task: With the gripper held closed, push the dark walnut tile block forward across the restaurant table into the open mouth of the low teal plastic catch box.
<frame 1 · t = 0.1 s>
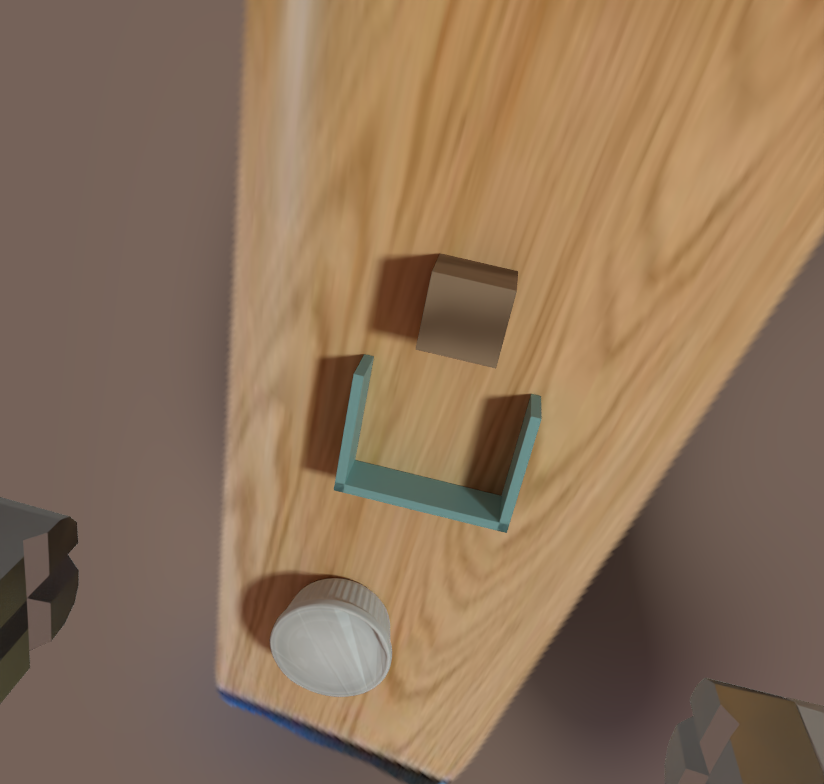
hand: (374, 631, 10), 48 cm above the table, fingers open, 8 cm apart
walnut tile block: (470, 299, 58), on the table
catch box: (438, 432, 63), on the table
ramekin: (343, 612, 73), on the table
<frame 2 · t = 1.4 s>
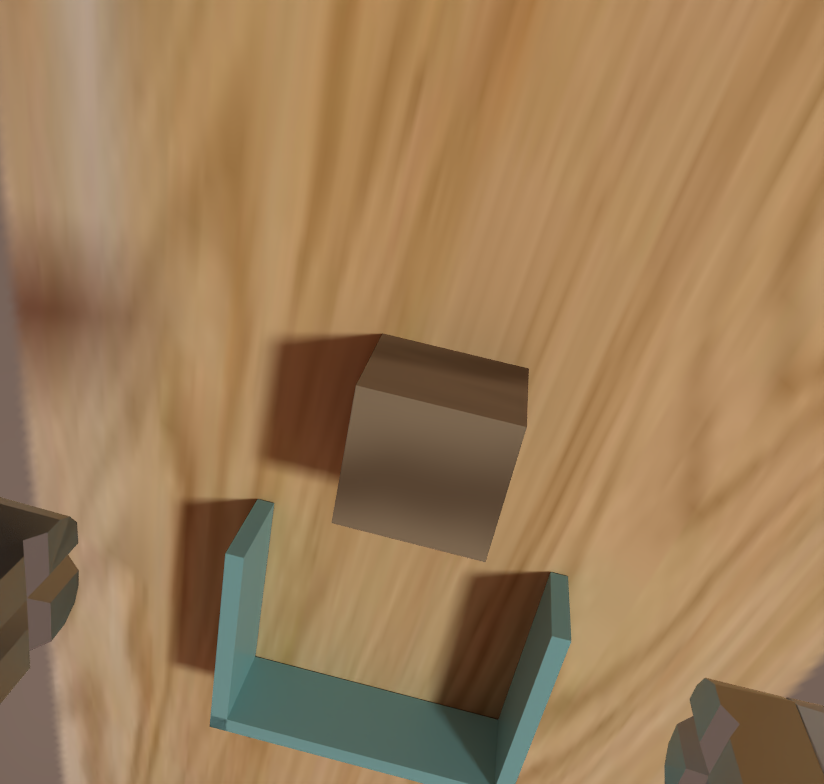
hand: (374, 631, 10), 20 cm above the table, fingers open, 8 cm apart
walnut tile block: (440, 413, 31), on the table
catch box: (390, 623, 37), on the table
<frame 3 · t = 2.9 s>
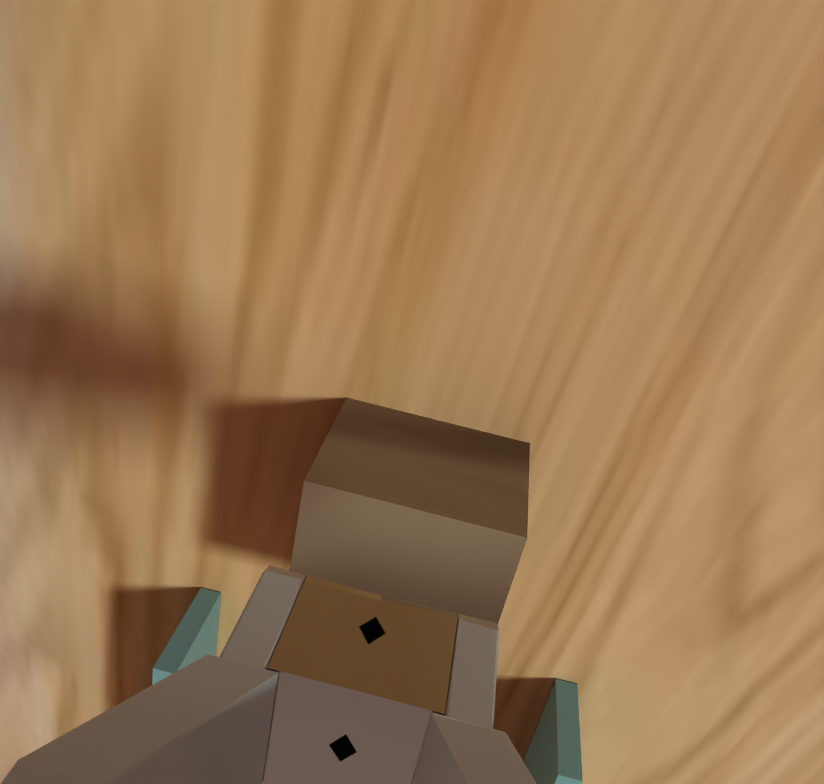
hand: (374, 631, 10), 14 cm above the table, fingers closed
walnut tile block: (419, 493, 25), on the table
catch box: (364, 729, 31), on the table
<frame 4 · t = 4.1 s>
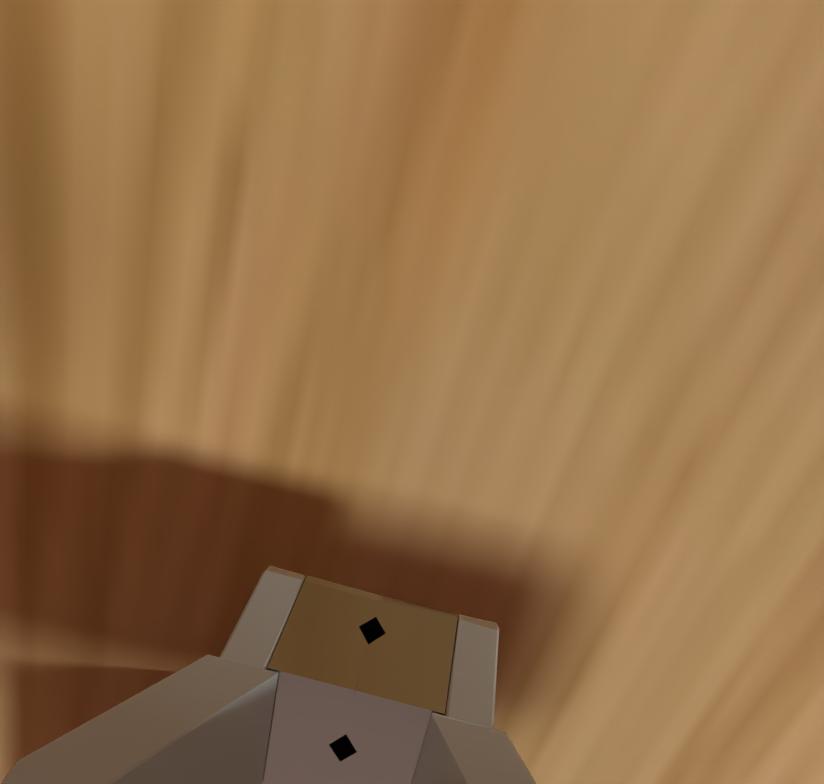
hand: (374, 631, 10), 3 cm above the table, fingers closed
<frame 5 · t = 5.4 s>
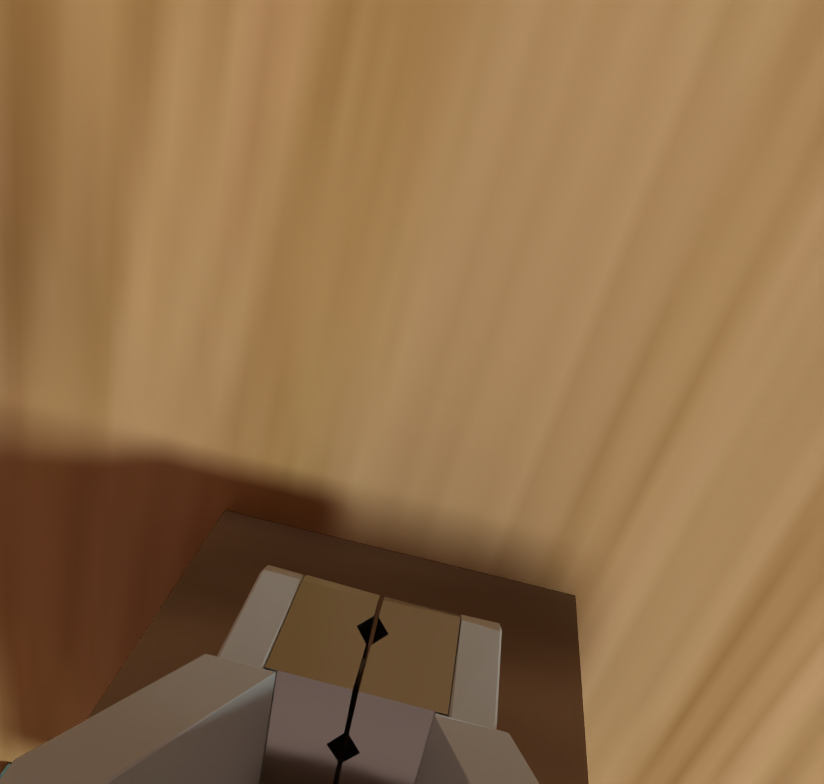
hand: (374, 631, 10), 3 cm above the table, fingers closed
walnut tile block: (370, 680, 14), on the table, touching gripper
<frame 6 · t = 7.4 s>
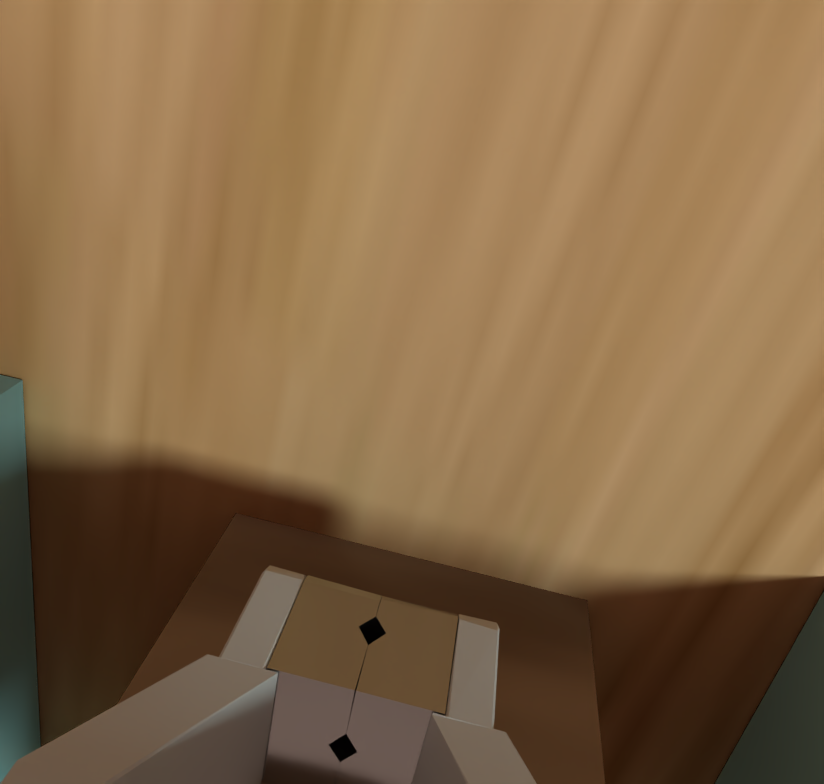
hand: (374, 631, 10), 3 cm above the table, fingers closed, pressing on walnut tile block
walnut tile block: (380, 679, 14), on the table, touching gripper
catch box: (361, 713, 14), on the table
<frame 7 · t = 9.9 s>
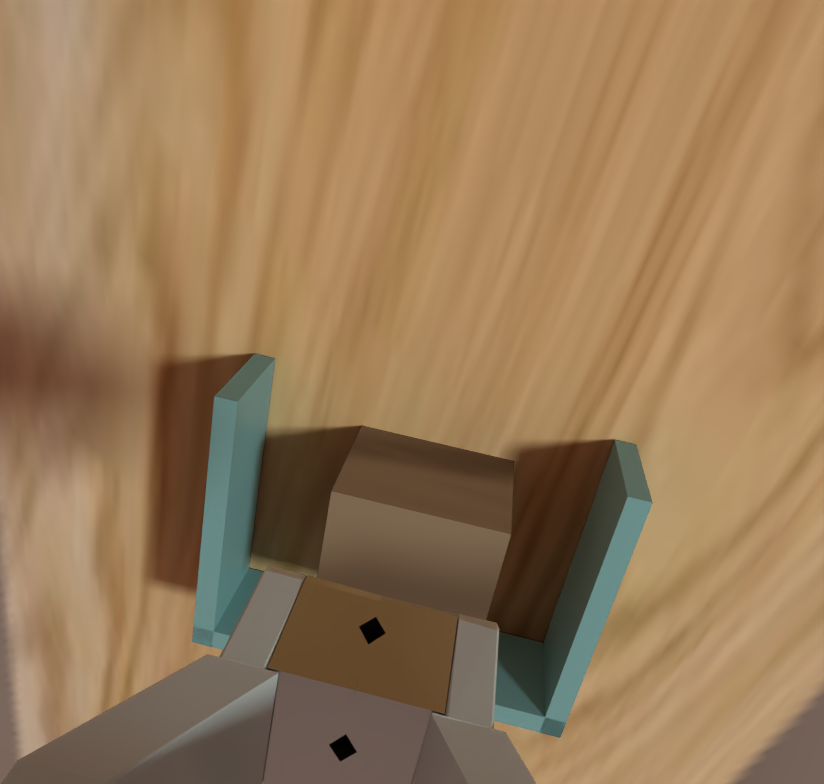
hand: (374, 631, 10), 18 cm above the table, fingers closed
walnut tile block: (423, 506, 30), on the table
catch box: (415, 517, 30), on the table
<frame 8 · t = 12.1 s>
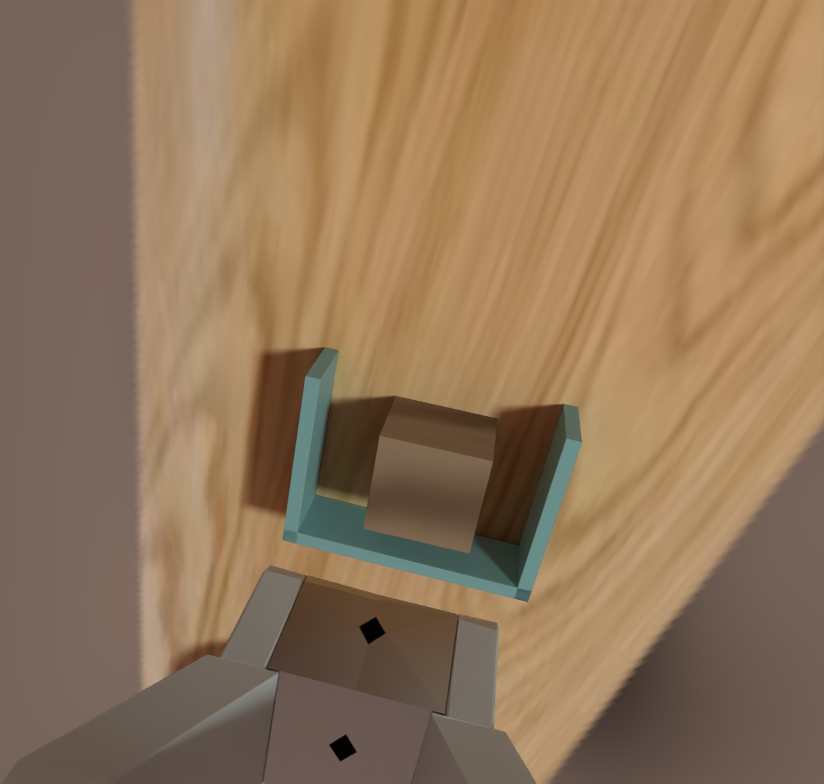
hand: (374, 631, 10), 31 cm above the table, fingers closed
walnut tile block: (436, 450, 44), on the table
catch box: (431, 457, 44), on the table
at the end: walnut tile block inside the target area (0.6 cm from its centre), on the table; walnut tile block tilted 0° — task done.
